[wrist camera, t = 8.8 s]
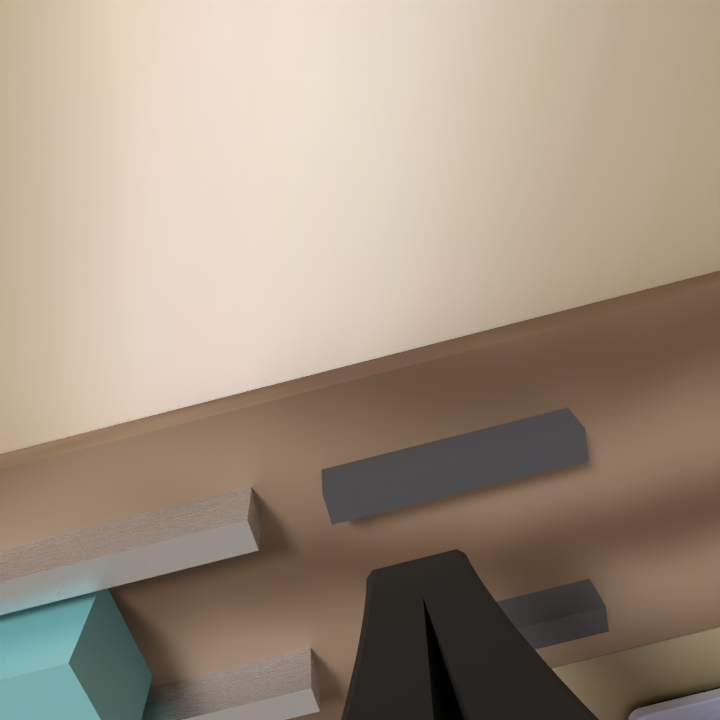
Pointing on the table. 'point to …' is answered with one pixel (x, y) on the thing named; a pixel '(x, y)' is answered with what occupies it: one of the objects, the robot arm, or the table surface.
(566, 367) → the base board
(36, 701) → the plug
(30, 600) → the grey slab
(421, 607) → the robot arm
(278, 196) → the table surface
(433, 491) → the grey blocks
